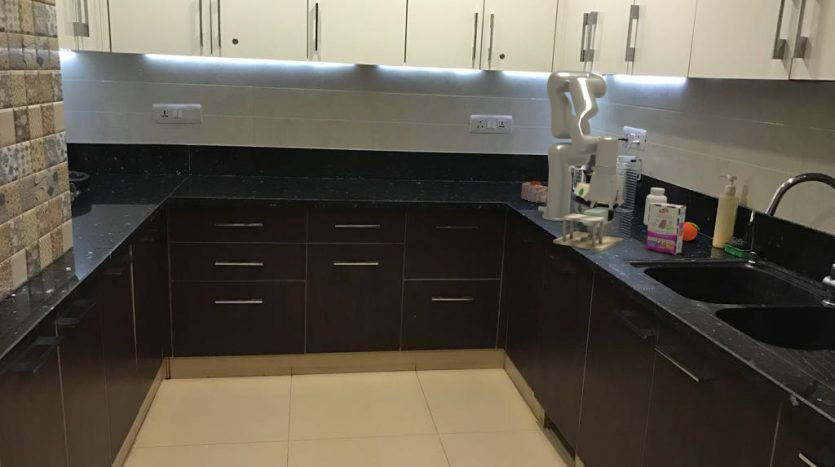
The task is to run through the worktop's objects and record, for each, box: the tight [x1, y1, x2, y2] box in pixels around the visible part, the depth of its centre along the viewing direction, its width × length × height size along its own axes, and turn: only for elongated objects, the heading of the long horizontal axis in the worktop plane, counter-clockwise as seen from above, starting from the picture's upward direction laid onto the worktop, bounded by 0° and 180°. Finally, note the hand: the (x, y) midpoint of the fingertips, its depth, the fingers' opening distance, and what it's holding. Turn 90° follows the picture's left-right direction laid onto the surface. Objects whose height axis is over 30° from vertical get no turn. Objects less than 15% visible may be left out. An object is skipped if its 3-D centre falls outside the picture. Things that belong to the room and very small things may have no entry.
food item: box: [520, 180, 548, 204], centre depth 329 cm, size 14×8×10 cm, turn 30°
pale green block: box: [582, 206, 613, 228], centre depth 254 cm, size 6×13×5 cm, turn 144°
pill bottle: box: [643, 187, 668, 226], centre depth 283 cm, size 8×8×15 cm
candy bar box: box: [645, 202, 687, 256], centre depth 240 cm, size 11×5×16 cm, turn 45°
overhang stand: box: [552, 213, 624, 252], centre depth 250 cm, size 18×20×10 cm
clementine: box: [683, 221, 700, 242], centre depth 257 cm, size 8×7×7 cm
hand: (601, 219), depth 258 cm, fingers closed on pale green block, 5 cm apart
